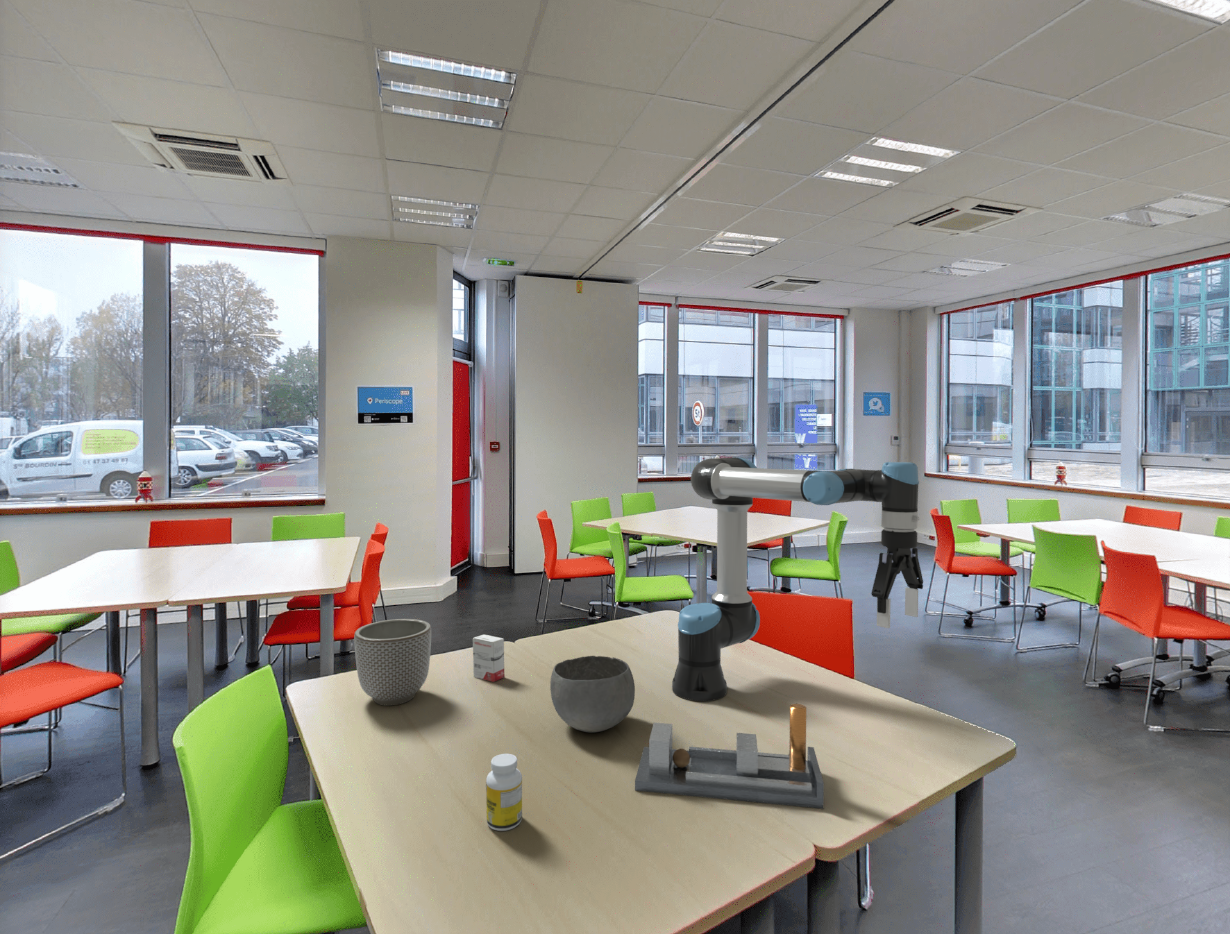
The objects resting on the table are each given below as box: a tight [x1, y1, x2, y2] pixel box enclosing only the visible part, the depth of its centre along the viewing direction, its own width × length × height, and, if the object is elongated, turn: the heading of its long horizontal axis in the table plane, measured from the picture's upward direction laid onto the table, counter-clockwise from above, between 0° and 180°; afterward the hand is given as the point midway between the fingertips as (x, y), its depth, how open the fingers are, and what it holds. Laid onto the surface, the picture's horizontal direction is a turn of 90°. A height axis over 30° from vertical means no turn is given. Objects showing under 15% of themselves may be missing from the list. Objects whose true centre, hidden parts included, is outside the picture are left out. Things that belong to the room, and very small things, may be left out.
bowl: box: [549, 655, 636, 734], centre depth 152 cm, size 20×20×15 cm
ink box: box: [472, 634, 505, 683], centre depth 184 cm, size 9×5×12 cm, turn 58°
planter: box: [353, 618, 432, 706], centre depth 169 cm, size 20×20×19 cm
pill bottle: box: [485, 753, 523, 832], centre depth 114 cm, size 6×6×12 cm
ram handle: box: [735, 703, 809, 783], centre depth 126 cm, size 14×8×14 cm, turn 80°
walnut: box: [673, 748, 690, 768], centre depth 129 cm, size 4×4×4 cm
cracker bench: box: [634, 722, 825, 810], centre depth 128 cm, size 36×14×9 cm, turn 80°
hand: (897, 621), depth 144 cm, fingers open, 13 cm apart
